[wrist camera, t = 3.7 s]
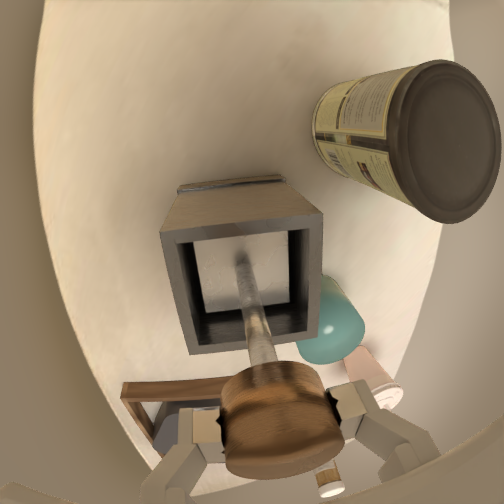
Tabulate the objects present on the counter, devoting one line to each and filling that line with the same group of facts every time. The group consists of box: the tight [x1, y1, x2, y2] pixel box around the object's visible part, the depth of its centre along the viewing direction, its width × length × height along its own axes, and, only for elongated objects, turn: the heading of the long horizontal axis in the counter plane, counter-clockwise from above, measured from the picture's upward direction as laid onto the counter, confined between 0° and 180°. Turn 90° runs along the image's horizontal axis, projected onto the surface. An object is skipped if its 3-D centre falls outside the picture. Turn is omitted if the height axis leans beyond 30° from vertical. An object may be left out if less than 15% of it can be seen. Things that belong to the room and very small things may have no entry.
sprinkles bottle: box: [313, 458, 345, 497], centre depth 42 cm, size 5×5×14 cm
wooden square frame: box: [120, 376, 233, 464], centre depth 40 cm, size 23×23×3 cm
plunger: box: [193, 231, 345, 480], centre depth 14 cm, size 6×6×14 cm
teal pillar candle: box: [295, 275, 365, 365], centre depth 30 cm, size 7×7×7 cm
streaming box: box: [152, 398, 225, 463], centre depth 38 cm, size 14×14×5 cm
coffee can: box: [312, 60, 501, 224], centre depth 19 cm, size 10×10×14 cm
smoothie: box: [343, 346, 403, 412], centre depth 32 cm, size 6×6×14 cm
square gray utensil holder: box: [159, 175, 323, 355], centre depth 23 cm, size 9×9×12 cm
